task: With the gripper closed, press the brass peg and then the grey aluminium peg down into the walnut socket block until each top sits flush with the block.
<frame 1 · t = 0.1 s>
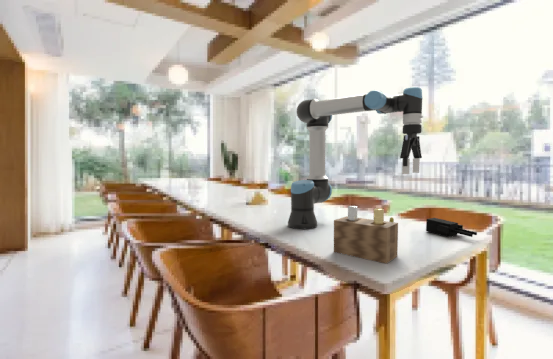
hand: (411, 173, 135), 28 cm above the table, fingers open, 13 cm apart
peg 2: (378, 223, 109), point 12 cm above the table, slide at 0.0 cm
peg 1: (352, 219, 115), point 12 cm above the table, slide at 0.0 cm
figurine: (372, 231, 148), on the table
black pronged block: (450, 236, 138), on the table
socket block: (364, 254, 113), on the table
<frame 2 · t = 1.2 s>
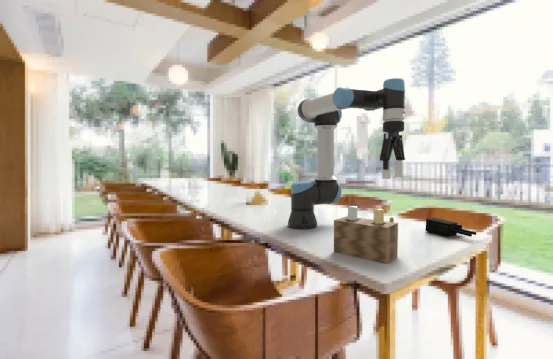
hand: (392, 177, 117), 27 cm above the table, fingers open, 13 cm apart
nothing on the table moved.
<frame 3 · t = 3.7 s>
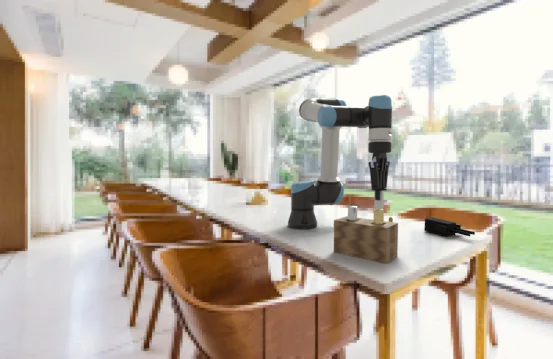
hand: (378, 209, 108), 17 cm above the table, fingers closed
peg 2: (378, 223, 109), point 12 cm above the table, slide at 0.2 cm, touching gripper
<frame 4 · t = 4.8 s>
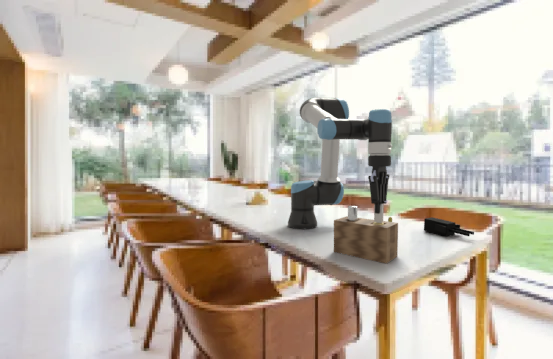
hand: (378, 222, 108), 12 cm above the table, fingers closed
peg 2: (378, 236, 109), point 7 cm above the table, slide at 4.8 cm, touching gripper
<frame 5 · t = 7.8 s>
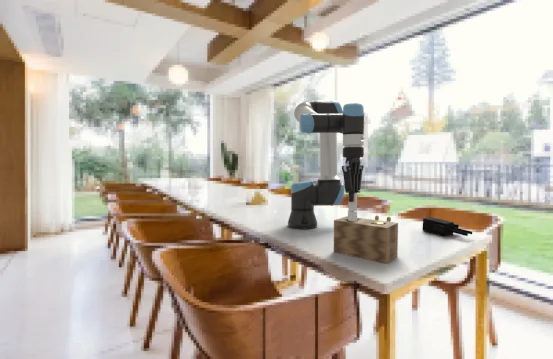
hand: (352, 210, 115), 16 cm above the table, fingers closed
peg 2: (378, 236, 109), point 7 cm above the table, slide at 4.8 cm
peg 1: (352, 224, 115), point 10 cm above the table, slide at 1.7 cm, touching gripper
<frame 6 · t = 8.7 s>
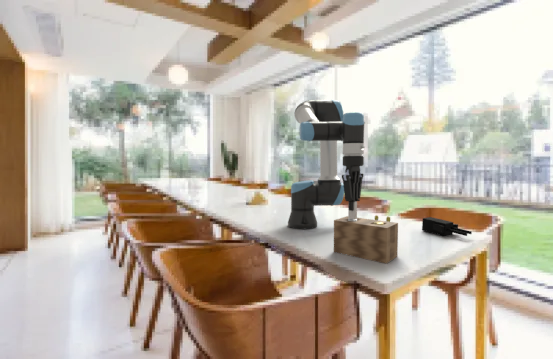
hand: (352, 218, 115), 12 cm above the table, fingers closed
peg 1: (352, 232, 115), point 7 cm above the table, slide at 4.8 cm, touching gripper
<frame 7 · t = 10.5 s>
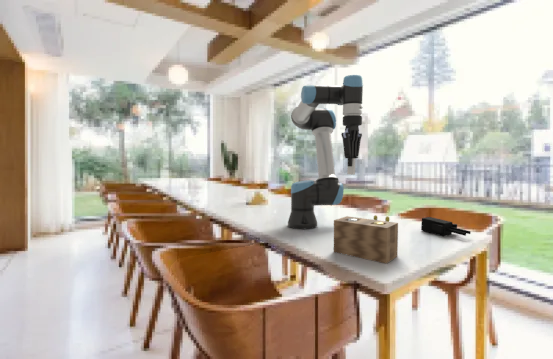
hand: (351, 174, 126), 28 cm above the table, fingers closed
peg 1: (352, 232, 115), point 7 cm above the table, slide at 4.8 cm
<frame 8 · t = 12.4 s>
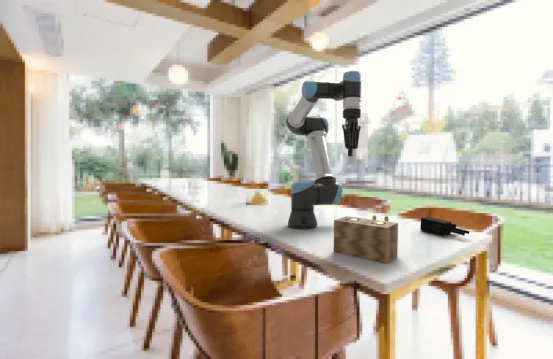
hand: (351, 163, 134), 32 cm above the table, fingers closed
at the end: peg 2 slide at 4.8 cm; peg 1 slide at 4.8 cm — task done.
